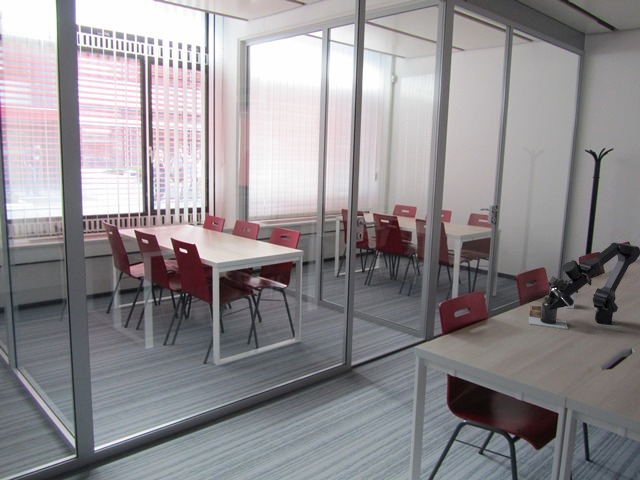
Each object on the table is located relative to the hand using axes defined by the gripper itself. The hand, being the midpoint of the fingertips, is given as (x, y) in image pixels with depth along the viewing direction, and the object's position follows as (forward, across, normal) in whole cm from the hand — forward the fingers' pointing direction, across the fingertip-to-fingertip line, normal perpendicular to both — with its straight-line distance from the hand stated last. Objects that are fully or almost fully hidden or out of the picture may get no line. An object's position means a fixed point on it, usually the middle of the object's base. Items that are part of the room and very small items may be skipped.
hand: (546, 306), depth 234 cm
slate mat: (+5, 0, +7) cm, 8 cm away
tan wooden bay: (+4, -13, +7) cm, 16 cm away
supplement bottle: (+4, 0, +7) cm, 8 cm away
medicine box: (-8, -33, +20) cm, 39 cm away
